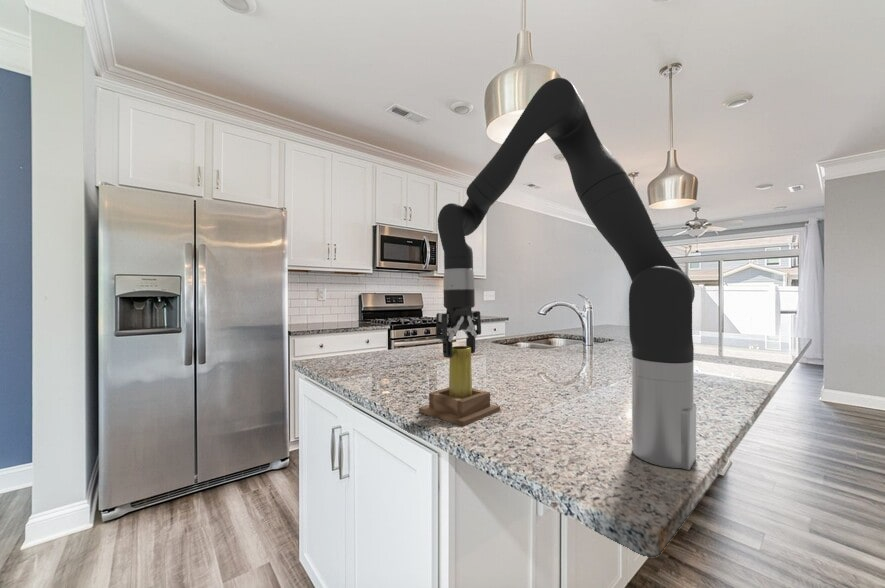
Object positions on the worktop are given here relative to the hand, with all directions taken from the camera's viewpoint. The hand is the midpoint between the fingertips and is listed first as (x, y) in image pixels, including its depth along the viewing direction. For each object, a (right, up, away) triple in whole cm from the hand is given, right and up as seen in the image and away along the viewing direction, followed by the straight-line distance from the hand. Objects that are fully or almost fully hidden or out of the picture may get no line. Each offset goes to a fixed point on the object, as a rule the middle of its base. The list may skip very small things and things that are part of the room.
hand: (459, 355), depth 89 cm
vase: (0, -13, 0) cm, 13 cm away
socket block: (0, -14, 0) cm, 14 cm away
